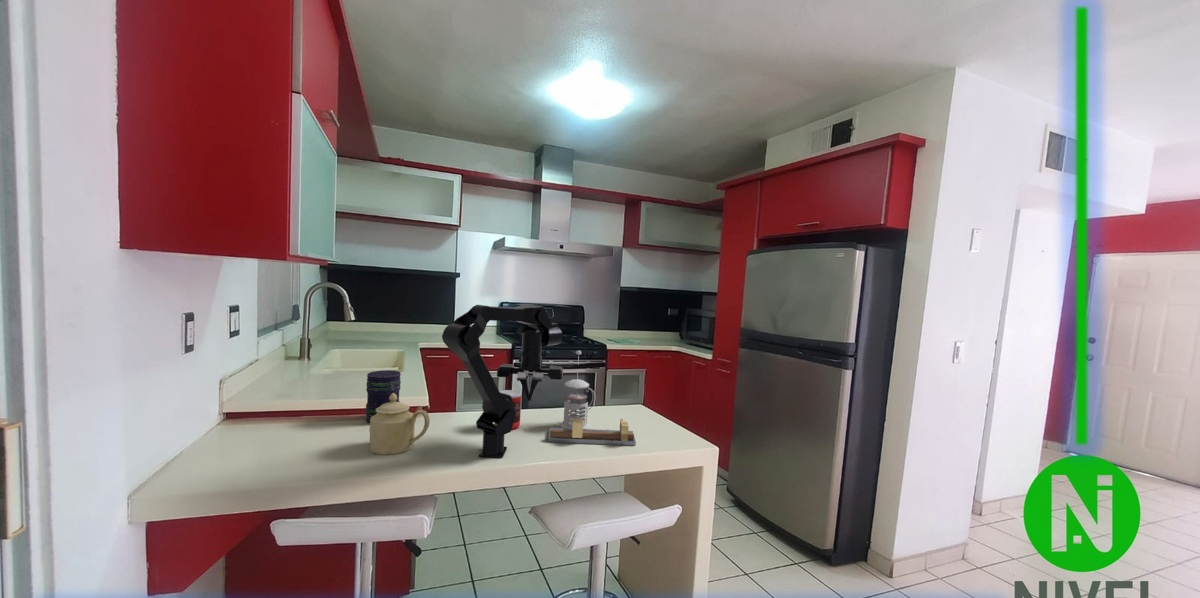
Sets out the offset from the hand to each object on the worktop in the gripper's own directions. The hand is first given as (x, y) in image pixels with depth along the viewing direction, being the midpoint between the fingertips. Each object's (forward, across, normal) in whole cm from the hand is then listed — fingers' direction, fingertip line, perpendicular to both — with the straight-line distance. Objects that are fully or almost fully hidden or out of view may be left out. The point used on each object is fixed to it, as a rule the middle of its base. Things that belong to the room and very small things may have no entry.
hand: (529, 400), depth 130 cm
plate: (+12, -19, -4) cm, 23 cm away
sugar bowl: (+12, +34, +8) cm, 37 cm away
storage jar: (+12, +48, -13) cm, 52 cm away
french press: (+12, -14, -16) cm, 25 cm away
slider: (+10, -15, -3) cm, 18 cm away
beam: (+11, -19, -3) cm, 22 cm away
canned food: (+12, +8, -11) cm, 18 cm away
